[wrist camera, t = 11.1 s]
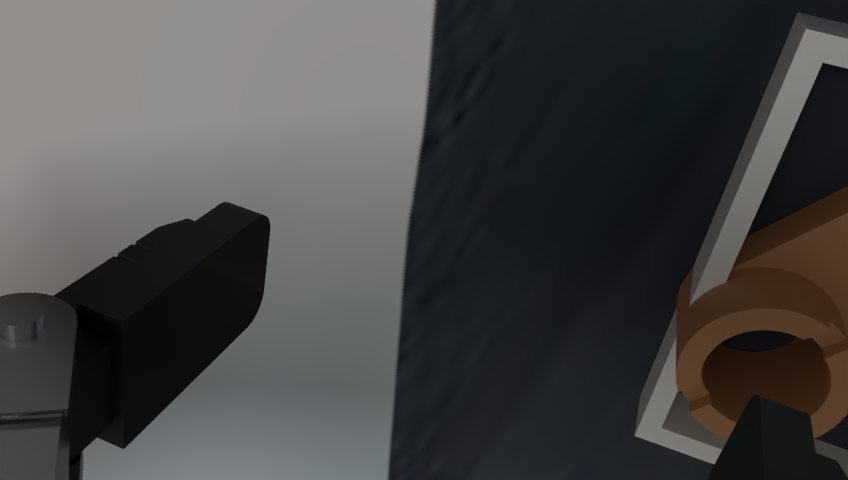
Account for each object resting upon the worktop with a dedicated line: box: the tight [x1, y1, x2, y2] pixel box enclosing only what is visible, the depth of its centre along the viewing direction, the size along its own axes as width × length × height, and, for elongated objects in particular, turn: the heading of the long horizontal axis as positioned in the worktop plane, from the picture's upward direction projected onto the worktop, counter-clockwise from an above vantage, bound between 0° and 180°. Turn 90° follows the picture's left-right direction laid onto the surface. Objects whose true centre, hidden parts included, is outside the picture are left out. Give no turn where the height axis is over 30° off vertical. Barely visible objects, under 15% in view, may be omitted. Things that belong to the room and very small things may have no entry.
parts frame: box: [635, 12, 848, 477], centre depth 40 cm, size 14×24×4 cm, turn 170°
